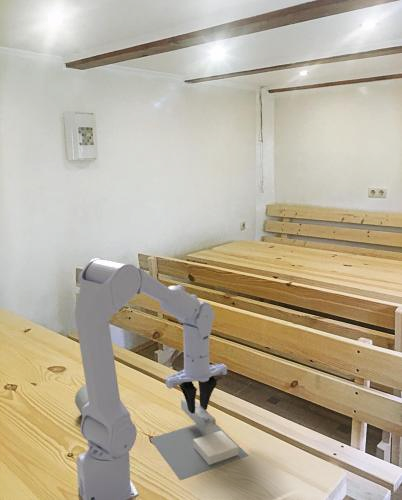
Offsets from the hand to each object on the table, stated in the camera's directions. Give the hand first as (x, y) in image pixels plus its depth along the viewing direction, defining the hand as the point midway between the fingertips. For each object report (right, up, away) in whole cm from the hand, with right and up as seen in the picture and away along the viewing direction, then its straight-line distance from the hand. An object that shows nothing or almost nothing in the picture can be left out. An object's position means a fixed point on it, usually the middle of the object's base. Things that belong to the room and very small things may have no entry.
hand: (197, 409), depth 103 cm
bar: (0, -2, 0) cm, 2 cm away
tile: (+2, -5, -3) cm, 7 cm away
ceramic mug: (-24, -5, +10) cm, 27 cm away
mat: (0, -7, -4) cm, 8 cm away
